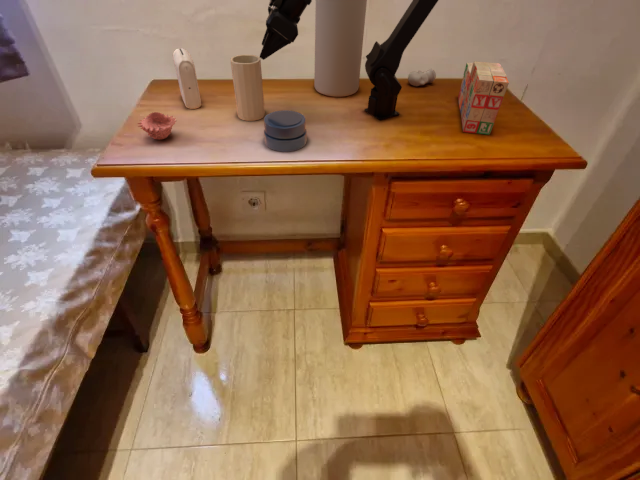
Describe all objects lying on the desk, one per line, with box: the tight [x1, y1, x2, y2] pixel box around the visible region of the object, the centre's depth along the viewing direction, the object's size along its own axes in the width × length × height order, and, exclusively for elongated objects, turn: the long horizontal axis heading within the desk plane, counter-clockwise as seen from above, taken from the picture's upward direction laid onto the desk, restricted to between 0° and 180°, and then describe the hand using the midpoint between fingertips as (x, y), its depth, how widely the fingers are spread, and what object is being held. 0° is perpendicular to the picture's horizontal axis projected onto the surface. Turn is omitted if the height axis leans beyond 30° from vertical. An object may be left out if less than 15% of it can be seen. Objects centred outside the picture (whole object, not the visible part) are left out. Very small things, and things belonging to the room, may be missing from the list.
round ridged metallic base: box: [263, 109, 308, 153], centre depth 81 cm, size 9×9×5 cm
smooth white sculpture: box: [407, 68, 437, 87], centre depth 109 cm, size 4×8×5 cm
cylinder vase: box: [313, 0, 368, 98], centre depth 98 cm, size 12×12×25 cm
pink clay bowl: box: [137, 111, 177, 141], centre depth 81 cm, size 8×8×6 cm
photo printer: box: [172, 47, 202, 110], centre depth 93 cm, size 10×4×12 cm, turn 23°
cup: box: [230, 54, 266, 122], centre depth 88 cm, size 7×7×13 cm
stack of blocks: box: [457, 61, 510, 136], centre depth 92 cm, size 21×6×12 cm, turn 168°
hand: (262, 51), depth 83 cm, fingers open, 9 cm apart
